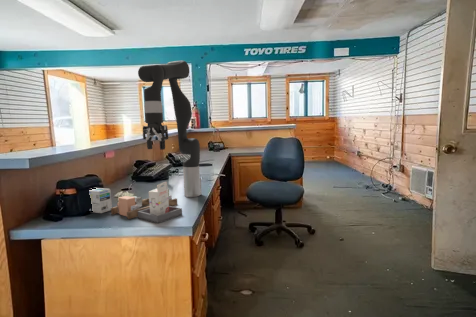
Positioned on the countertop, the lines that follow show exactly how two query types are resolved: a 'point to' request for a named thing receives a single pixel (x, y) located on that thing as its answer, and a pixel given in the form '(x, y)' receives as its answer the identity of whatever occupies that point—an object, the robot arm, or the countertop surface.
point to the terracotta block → (125, 204)
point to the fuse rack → (140, 203)
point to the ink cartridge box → (159, 200)
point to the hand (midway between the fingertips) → (156, 149)
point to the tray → (160, 218)
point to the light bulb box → (100, 200)
